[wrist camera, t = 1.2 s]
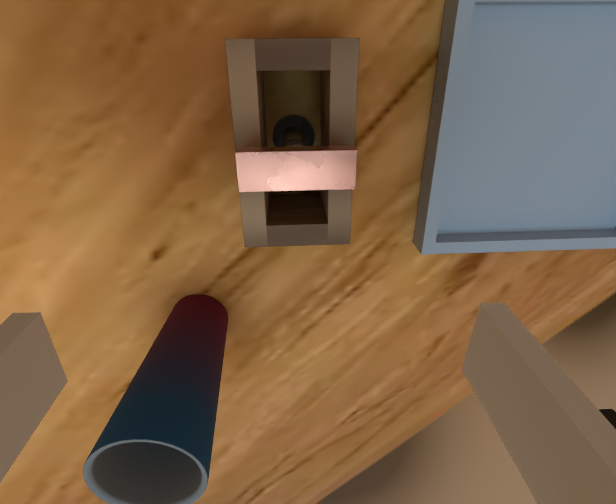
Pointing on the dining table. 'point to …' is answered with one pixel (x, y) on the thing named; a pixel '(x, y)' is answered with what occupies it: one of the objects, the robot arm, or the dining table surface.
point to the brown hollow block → (334, 132)
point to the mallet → (295, 162)
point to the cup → (165, 414)
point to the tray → (521, 129)
